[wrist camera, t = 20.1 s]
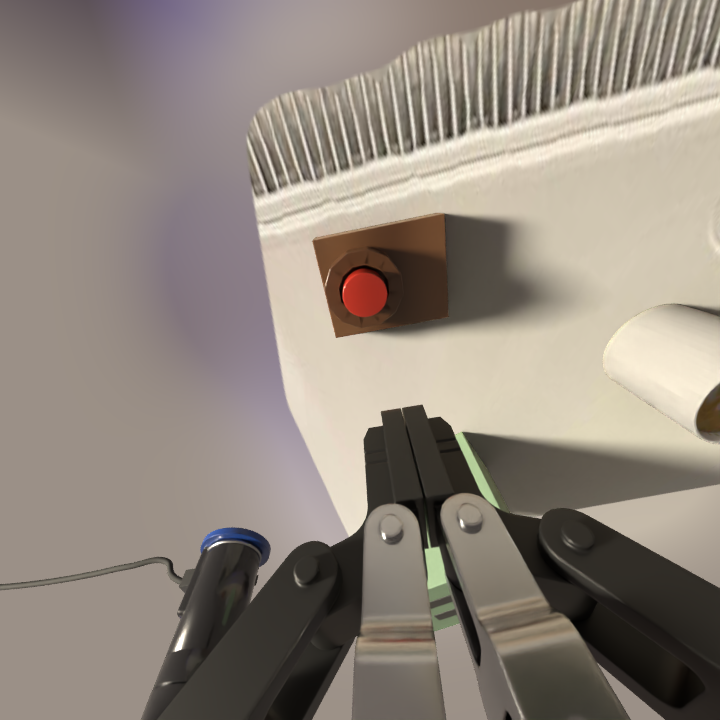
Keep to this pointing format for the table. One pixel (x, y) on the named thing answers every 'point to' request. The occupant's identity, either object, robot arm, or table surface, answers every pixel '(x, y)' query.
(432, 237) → the switch block
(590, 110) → the table surface
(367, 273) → the power button
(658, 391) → the coffee mug
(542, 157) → the table surface
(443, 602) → the toaster
